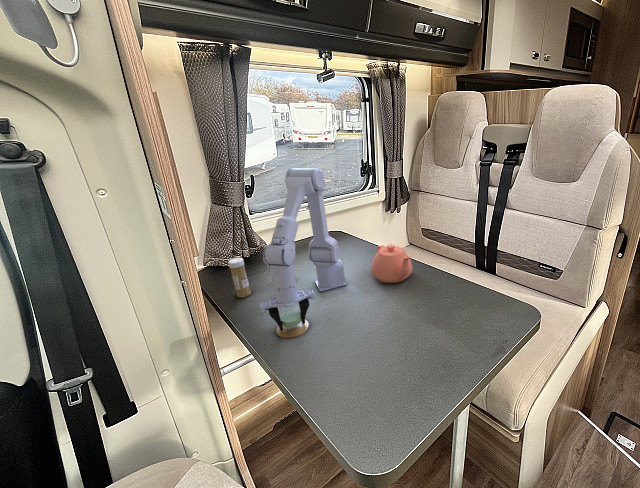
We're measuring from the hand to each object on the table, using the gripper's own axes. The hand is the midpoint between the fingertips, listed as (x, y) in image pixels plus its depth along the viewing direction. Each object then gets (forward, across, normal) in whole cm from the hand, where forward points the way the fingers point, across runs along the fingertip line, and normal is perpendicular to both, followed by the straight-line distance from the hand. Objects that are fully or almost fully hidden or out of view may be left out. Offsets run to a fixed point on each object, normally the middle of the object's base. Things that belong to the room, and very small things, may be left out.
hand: (292, 325), depth 92 cm
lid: (-3, 0, 0) cm, 3 cm away
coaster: (+1, 0, 0) cm, 1 cm away
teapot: (+1, +39, +13) cm, 42 cm away
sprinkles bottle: (+1, -12, +28) cm, 30 cm away
